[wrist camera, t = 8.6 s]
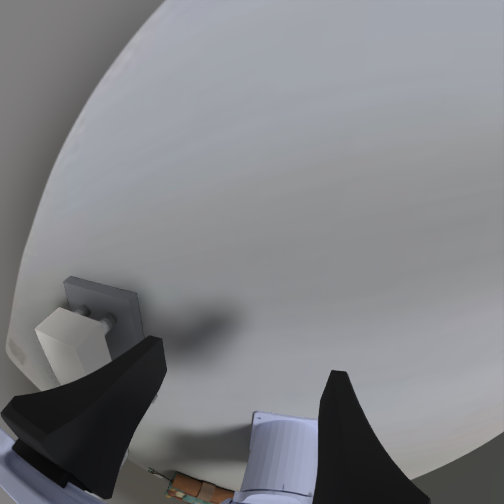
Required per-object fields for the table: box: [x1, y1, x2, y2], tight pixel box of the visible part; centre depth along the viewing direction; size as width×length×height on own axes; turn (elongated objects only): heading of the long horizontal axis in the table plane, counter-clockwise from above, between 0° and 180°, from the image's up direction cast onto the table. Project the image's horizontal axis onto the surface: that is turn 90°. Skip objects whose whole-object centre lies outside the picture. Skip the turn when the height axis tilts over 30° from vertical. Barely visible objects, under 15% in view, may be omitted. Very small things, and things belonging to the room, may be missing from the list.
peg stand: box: [63, 276, 157, 403], centre depth 25 cm, size 14×8×4 cm, turn 176°
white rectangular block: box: [35, 307, 112, 386], centre depth 22 cm, size 12×5×4 cm, turn 176°
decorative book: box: [148, 468, 235, 504], centre depth 39 cm, size 13×18×5 cm
